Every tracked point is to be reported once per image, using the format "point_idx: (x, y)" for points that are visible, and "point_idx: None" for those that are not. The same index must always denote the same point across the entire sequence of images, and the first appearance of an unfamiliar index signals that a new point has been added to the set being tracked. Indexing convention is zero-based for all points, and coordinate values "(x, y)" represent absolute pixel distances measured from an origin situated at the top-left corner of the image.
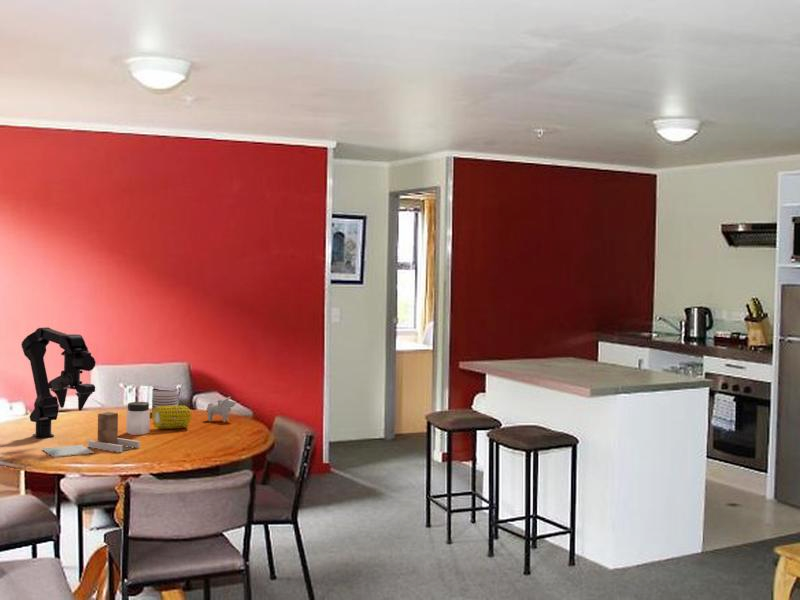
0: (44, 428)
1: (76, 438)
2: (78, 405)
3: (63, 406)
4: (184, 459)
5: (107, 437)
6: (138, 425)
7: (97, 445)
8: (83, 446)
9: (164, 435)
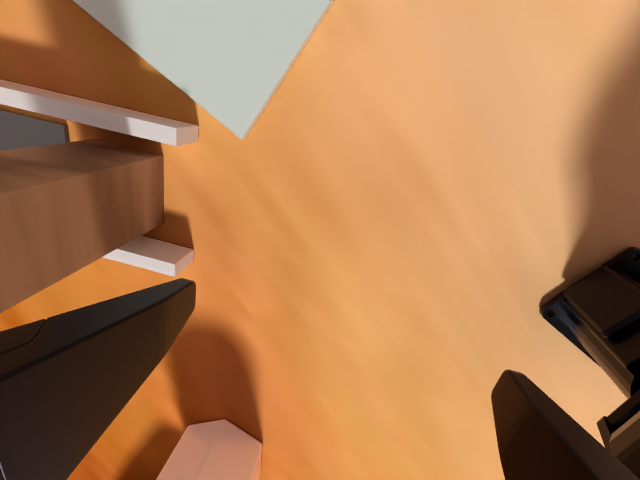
0: (627, 300)
1: (394, 308)
2: (139, 306)
3: (495, 404)
4: None
5: (39, 146)
6: (179, 459)
7: (112, 109)
8: (199, 98)
9: (119, 427)
